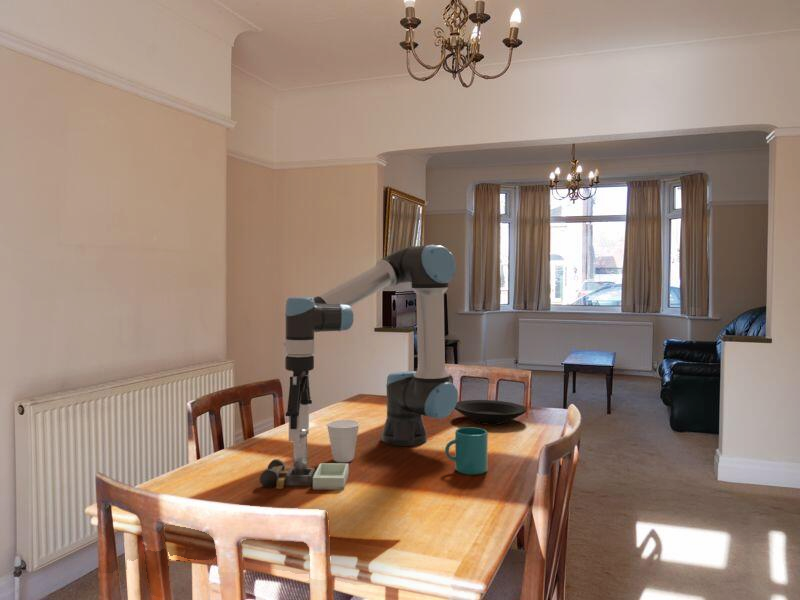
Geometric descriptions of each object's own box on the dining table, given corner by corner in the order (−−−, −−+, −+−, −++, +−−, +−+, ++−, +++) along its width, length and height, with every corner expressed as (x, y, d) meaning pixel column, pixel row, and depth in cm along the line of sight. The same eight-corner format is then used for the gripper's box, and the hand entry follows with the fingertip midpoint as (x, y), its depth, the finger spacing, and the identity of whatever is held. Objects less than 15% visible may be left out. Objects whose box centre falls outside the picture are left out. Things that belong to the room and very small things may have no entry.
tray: (348, 474, 166) (348, 463, 166) (343, 489, 154) (343, 478, 154) (319, 473, 166) (319, 463, 166) (312, 489, 154) (312, 477, 154)
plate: (535, 419, 230) (535, 405, 230) (512, 433, 210) (512, 417, 209) (469, 410, 245) (469, 397, 245) (441, 423, 225) (441, 408, 224)
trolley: (315, 475, 165) (315, 459, 165) (309, 488, 155) (309, 471, 155) (269, 474, 166) (268, 459, 166) (259, 488, 155) (259, 471, 155)
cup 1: (364, 456, 182) (364, 421, 182) (351, 466, 173) (351, 428, 173) (335, 453, 186) (335, 418, 185) (320, 463, 176) (320, 426, 176)
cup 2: (442, 466, 173) (442, 427, 173) (482, 464, 175) (483, 426, 174) (448, 476, 164) (448, 436, 164) (490, 475, 166) (491, 434, 165)
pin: (310, 478, 163) (309, 427, 162) (307, 484, 158) (307, 431, 158) (294, 478, 163) (293, 427, 162) (290, 484, 158) (290, 431, 158)
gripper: (294, 349, 172) (294, 422, 172) (274, 361, 147) (274, 446, 147) (320, 349, 172) (320, 423, 172) (305, 361, 147) (304, 447, 147)
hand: (299, 434), depth 160 cm, fingers open, 13 cm apart
